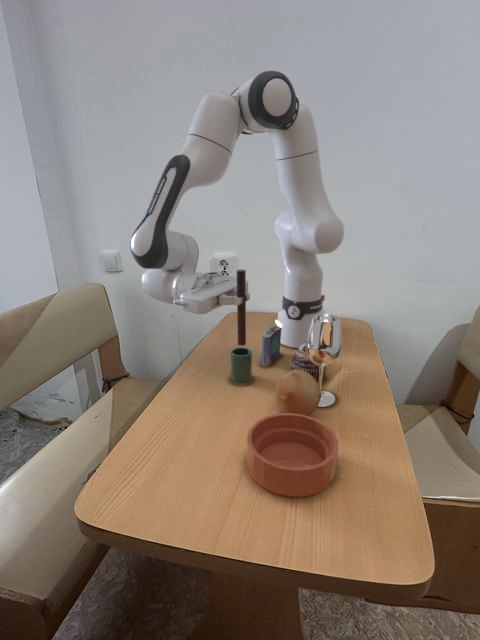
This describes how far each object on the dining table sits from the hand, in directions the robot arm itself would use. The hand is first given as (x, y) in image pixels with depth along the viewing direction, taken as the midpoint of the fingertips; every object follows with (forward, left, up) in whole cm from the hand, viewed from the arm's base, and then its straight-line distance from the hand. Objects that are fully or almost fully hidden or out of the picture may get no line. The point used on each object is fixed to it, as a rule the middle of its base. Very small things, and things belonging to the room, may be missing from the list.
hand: (244, 299), depth 85 cm
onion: (+6, +17, -22) cm, 28 cm away
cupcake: (-10, +13, -22) cm, 27 cm away
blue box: (-14, 0, -22) cm, 26 cm away
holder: (0, -1, -22) cm, 22 cm away
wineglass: (-2, +19, -22) cm, 29 cm away
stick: (0, -1, -11) cm, 11 cm away
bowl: (+22, +23, -22) cm, 38 cm away
